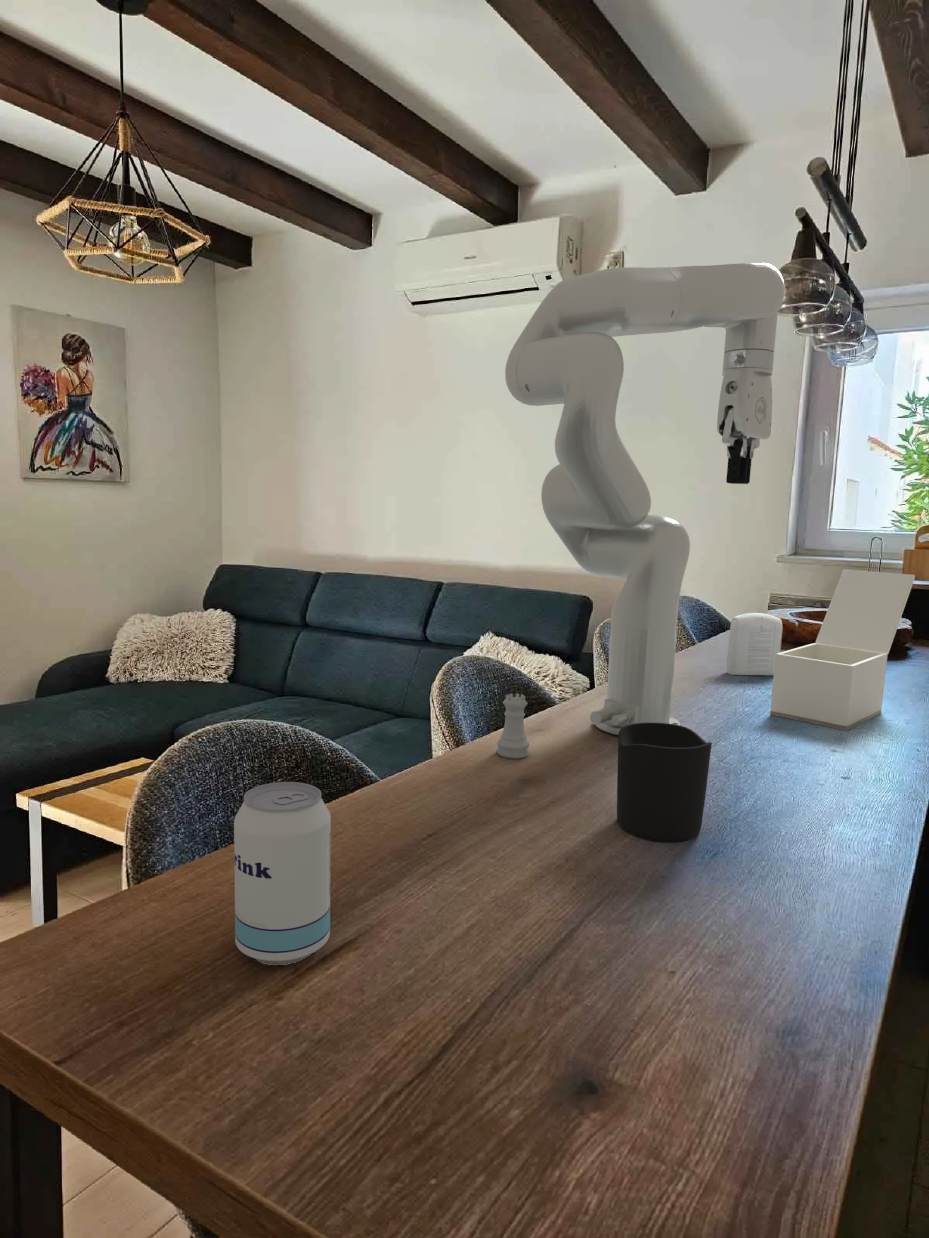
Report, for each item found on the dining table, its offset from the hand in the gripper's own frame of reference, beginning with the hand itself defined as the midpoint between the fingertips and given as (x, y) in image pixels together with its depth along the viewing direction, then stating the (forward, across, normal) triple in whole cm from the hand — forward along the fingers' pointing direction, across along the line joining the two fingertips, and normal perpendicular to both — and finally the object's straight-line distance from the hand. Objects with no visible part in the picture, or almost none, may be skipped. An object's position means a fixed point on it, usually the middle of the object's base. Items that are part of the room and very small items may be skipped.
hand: (737, 483), depth 134 cm
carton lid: (+20, +23, -14) cm, 34 cm away
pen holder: (+38, -53, -20) cm, 68 cm away
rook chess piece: (+38, -46, +6) cm, 60 cm away
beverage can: (+38, -95, -14) cm, 103 cm away
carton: (+37, +10, -14) cm, 41 cm away
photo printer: (+37, +30, +8) cm, 48 cm away
